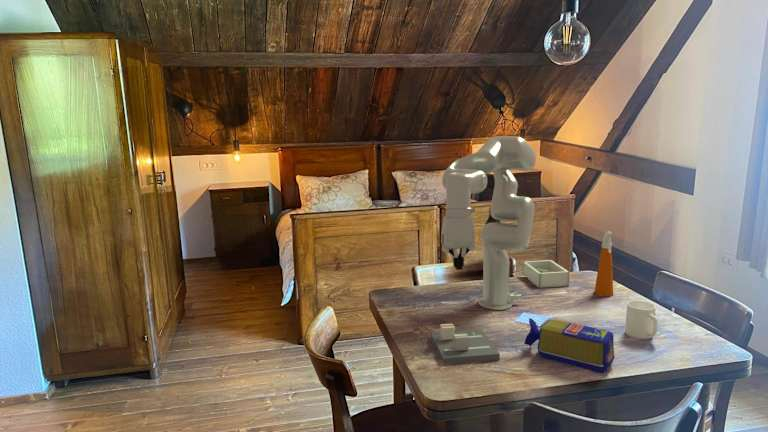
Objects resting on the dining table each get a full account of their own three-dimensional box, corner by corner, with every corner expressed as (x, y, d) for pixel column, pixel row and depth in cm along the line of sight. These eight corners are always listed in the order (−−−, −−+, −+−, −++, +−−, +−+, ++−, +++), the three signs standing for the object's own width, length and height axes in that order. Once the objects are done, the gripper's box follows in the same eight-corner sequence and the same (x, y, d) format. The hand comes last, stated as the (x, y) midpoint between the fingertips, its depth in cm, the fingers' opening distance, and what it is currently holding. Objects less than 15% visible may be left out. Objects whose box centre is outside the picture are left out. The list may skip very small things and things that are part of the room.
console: (481, 335, 176) (481, 329, 176) (499, 360, 159) (499, 353, 158) (430, 338, 174) (430, 332, 174) (443, 364, 157) (443, 358, 156)
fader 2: (465, 345, 164) (466, 332, 163) (468, 349, 161) (468, 336, 160) (453, 346, 163) (453, 333, 162) (455, 350, 160) (455, 337, 159)
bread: (606, 377, 148) (608, 342, 146) (521, 354, 162) (522, 322, 160) (616, 363, 156) (618, 329, 154) (534, 342, 170) (535, 311, 168)
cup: (641, 328, 179) (644, 299, 177) (667, 343, 167) (669, 312, 165) (619, 330, 177) (621, 301, 175) (643, 345, 166) (646, 315, 164)
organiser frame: (550, 272, 239) (550, 259, 238) (568, 285, 222) (569, 271, 221) (522, 274, 238) (522, 261, 237) (538, 287, 220) (539, 273, 219)
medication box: (533, 277, 235) (533, 268, 234) (536, 275, 237) (537, 266, 236) (557, 283, 226) (557, 274, 225) (560, 282, 227) (561, 273, 227)
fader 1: (452, 335, 171) (452, 322, 170) (454, 339, 168) (454, 326, 167) (440, 336, 171) (440, 323, 170) (442, 340, 168) (442, 327, 167)
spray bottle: (597, 299, 206) (601, 232, 201) (592, 290, 216) (596, 226, 211) (616, 300, 204) (621, 233, 199) (611, 291, 215) (615, 227, 209)
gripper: (477, 208, 171) (477, 263, 175) (432, 211, 169) (432, 267, 173) (485, 213, 164) (485, 270, 168) (438, 216, 162) (438, 274, 166)
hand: (458, 268), depth 171 cm, fingers closed
